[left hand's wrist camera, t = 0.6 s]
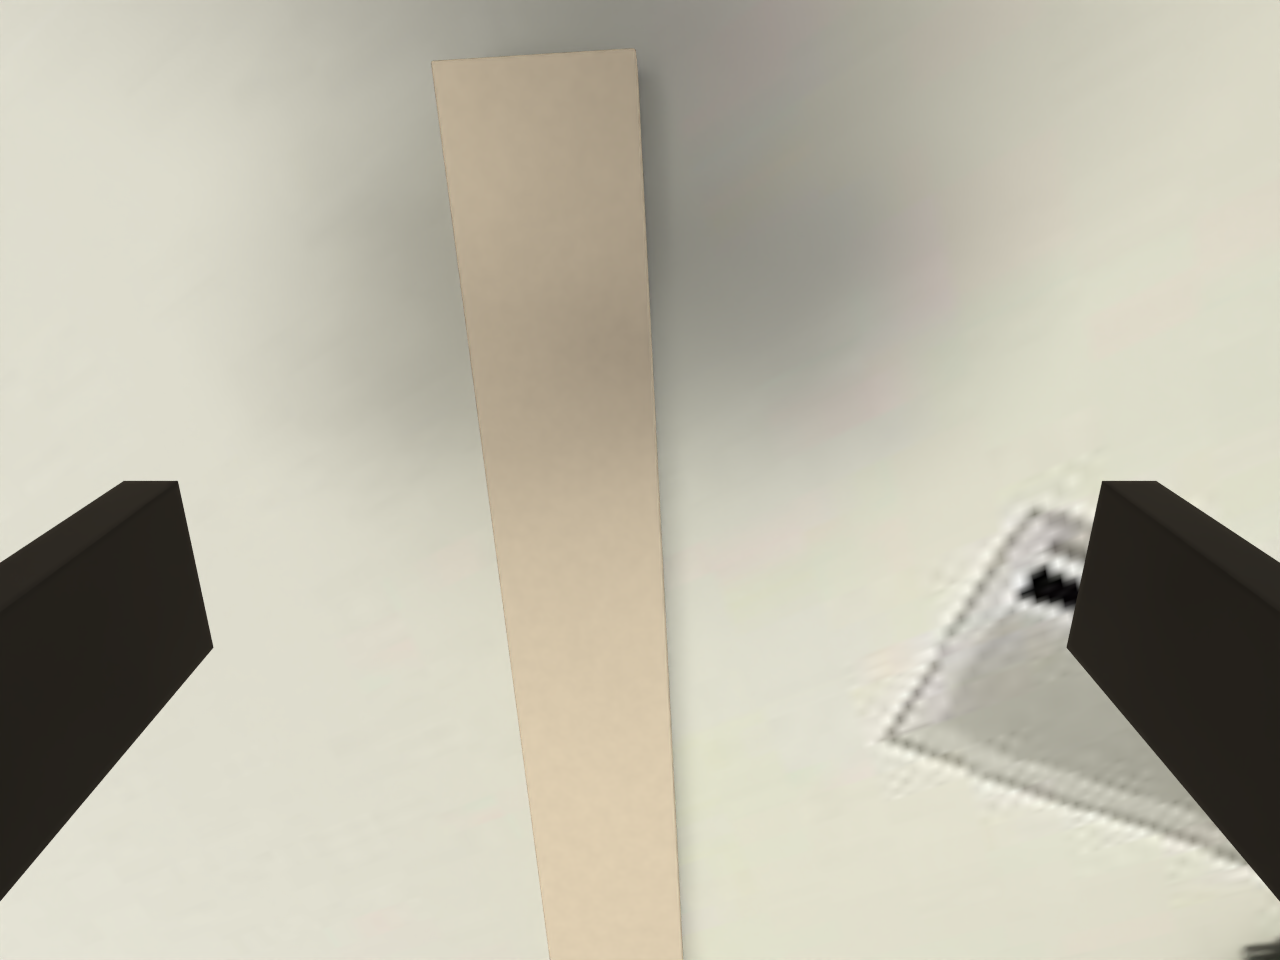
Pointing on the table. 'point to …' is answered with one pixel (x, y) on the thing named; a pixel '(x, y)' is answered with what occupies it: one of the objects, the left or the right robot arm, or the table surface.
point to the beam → (572, 474)
